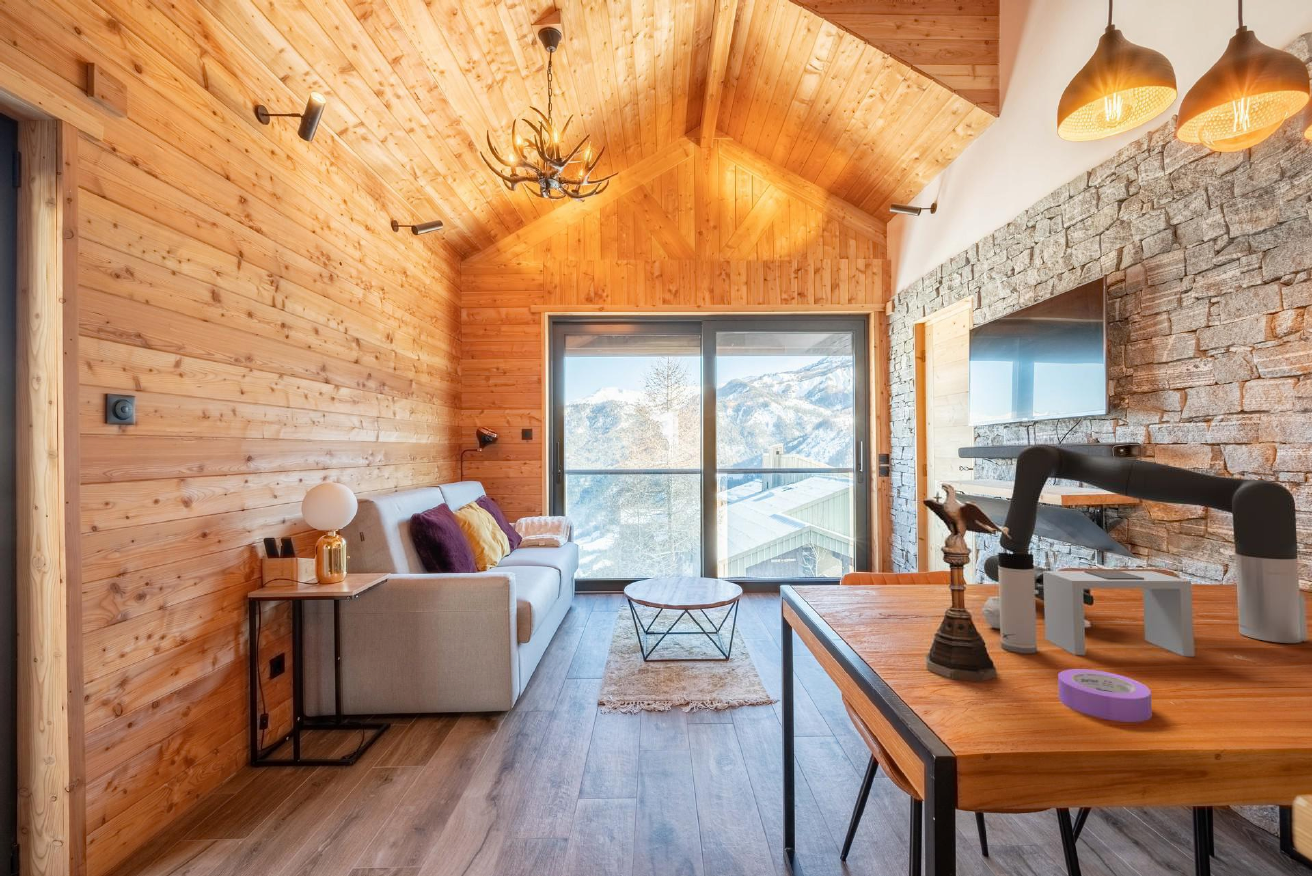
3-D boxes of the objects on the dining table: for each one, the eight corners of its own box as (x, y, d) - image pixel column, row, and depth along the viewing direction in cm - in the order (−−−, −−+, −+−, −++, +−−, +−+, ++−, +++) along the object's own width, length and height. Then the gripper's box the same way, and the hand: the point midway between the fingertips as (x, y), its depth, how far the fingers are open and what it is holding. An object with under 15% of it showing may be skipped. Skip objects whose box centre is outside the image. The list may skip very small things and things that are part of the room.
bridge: (1155, 640, 124) (1152, 571, 124) (1194, 656, 114) (1191, 581, 114) (1045, 639, 125) (1043, 571, 126) (1074, 654, 115) (1072, 580, 116)
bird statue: (961, 648, 120) (956, 478, 121) (1025, 668, 108) (1019, 479, 109) (904, 662, 113) (899, 480, 114) (967, 685, 101) (960, 482, 102)
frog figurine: (1013, 626, 135) (1012, 595, 135) (1012, 634, 129) (1011, 602, 129) (983, 622, 138) (982, 592, 139) (981, 630, 132) (980, 599, 133)
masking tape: (1171, 725, 86) (1170, 699, 86) (1083, 721, 88) (1082, 695, 88) (1121, 693, 97) (1120, 670, 97) (1044, 690, 99) (1044, 667, 99)
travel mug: (1004, 652, 117) (1000, 552, 118) (998, 642, 123) (995, 547, 124) (1040, 656, 115) (1037, 553, 116) (1033, 646, 121) (1029, 548, 122)
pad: (1119, 572, 123) (1119, 571, 123) (1144, 579, 116) (1144, 577, 116) (1084, 572, 124) (1084, 571, 124) (1106, 579, 117) (1106, 577, 117)
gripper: (1010, 567, 147) (1051, 583, 130) (1068, 567, 146) (1117, 583, 129) (1011, 597, 147) (1052, 617, 129) (1069, 598, 146) (1118, 618, 128)
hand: (1084, 600), depth 129 cm, fingers closed
